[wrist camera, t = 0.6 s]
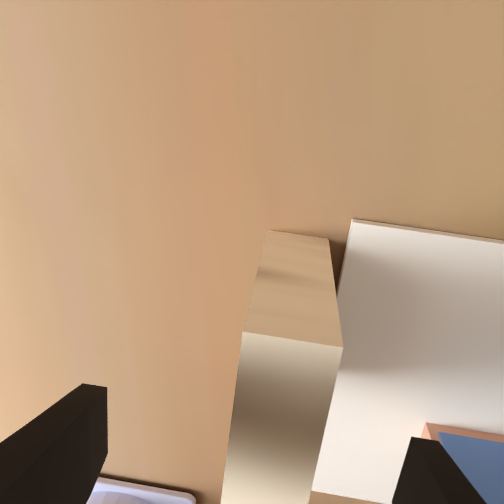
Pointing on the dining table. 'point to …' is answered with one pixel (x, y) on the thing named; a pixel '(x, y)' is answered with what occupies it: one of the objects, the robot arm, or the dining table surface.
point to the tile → (474, 457)
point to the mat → (411, 350)
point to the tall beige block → (284, 374)
